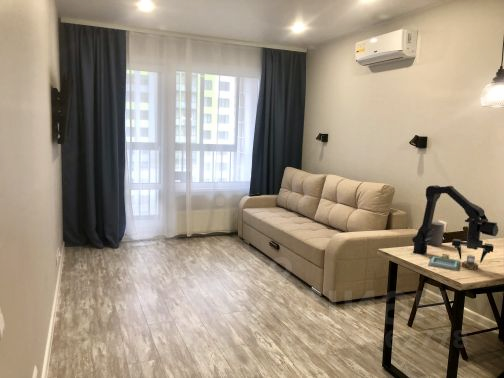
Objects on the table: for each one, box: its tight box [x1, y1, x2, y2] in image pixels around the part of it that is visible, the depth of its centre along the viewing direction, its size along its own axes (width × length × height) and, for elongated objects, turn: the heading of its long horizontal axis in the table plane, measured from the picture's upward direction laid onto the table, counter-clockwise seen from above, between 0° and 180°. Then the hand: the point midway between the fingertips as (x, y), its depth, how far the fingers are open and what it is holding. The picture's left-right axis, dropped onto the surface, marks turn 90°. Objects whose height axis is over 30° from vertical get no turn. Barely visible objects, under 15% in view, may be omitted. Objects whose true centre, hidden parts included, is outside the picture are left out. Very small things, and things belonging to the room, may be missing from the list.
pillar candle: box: [427, 220, 445, 247], centre depth 254 cm, size 10×10×15 cm
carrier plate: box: [427, 253, 461, 272], centre depth 217 cm, size 14×18×3 cm
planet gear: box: [461, 254, 479, 271], centre depth 212 cm, size 7×7×6 cm
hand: (470, 261), depth 212 cm, fingers open, 9 cm apart
